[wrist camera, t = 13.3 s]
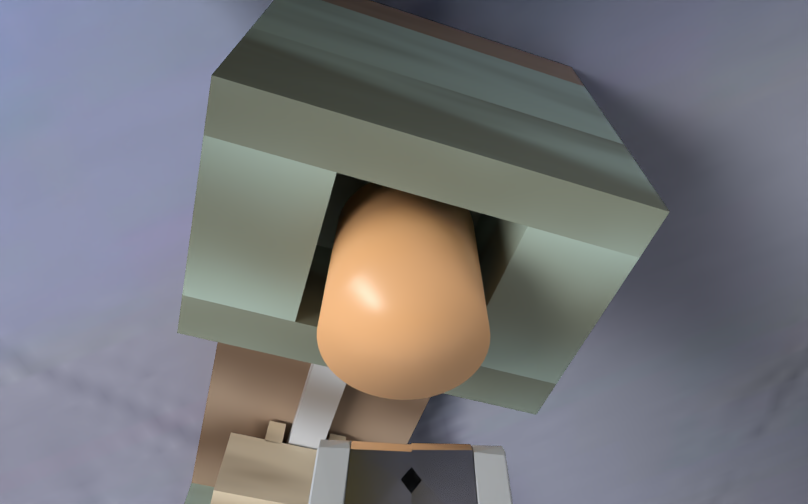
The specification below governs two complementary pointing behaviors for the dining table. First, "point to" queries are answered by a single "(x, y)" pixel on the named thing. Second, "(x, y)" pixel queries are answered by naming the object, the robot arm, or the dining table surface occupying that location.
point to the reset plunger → (403, 296)
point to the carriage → (265, 470)
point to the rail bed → (406, 171)
